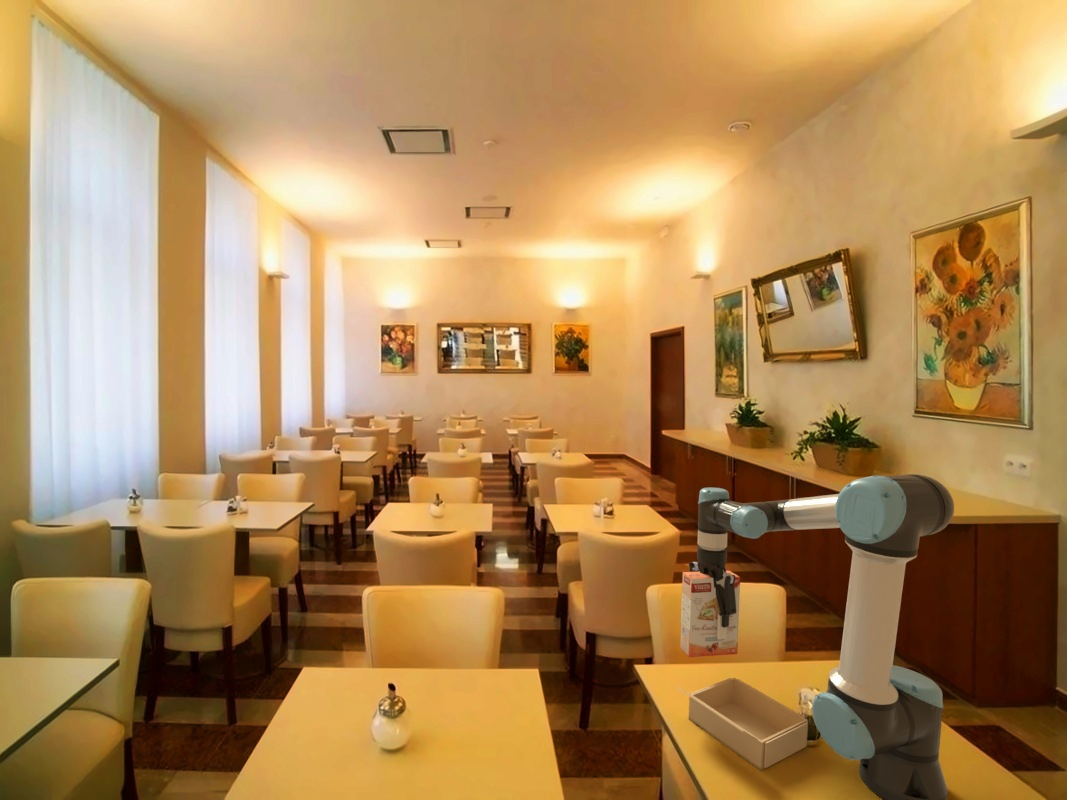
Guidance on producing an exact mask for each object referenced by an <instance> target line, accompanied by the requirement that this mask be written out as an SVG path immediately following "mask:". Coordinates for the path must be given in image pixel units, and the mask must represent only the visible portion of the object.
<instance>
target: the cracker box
mask: <svg viewBox="0 0 1067 800" xmlns="http://www.w3.org/2000/svg"><path fill="white" fill-rule="evenodd" d="M726 573H728V574H730V575H735V577H736V578H735V583H734V588H735V600H736V614H732V615H729V626H728V627H727V638H724V639H721V640H719V639H717V626H718V614H719V613H721V612H720V609H719V605H718V601H717V597H716V588H714V581H713V578H712V577H710V576H709V575H708V574H706V573H705V574H702V573H700V571H699V572H690V571H682V583H681V584H682V585H681V610H680V611H681V614H680V643H679V645H680V646H679V647H680V649H681V651H682V652H683V653H685V655H686V656H687V657H688V658H696V657H698V658H699V657H714V656H728V655H738V648H739V647H738V646H739V621H740V620H739V619H740V593H741V577H740V576H739V575H738V574H736V573H734V572H732V570H726ZM715 579H716V578H715ZM723 580H724V577H723V579H722V580H720V581H716V583H717V584H721V586H722V587H723V588H724V581H723Z"/></svg>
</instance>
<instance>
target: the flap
mask: <svg viewBox="0 0 1067 800" xmlns="http://www.w3.org/2000/svg"><path fill="white" fill-rule="evenodd" d="M676 689H677V690H679V691H681V692H682V693H684V694H685V695H687V696H688V697H689V698H690V697H691V698H693V699H694V700H696V701H697V702H699V703H700V704H702V705H703V706H705V707H706V708H708V709H709V710H711V711H712V712H714V713H715V714H717V715H718V716H720V717H721V718H723V719H724V720H726V721H727V722H729V723H730V724H732V725H733V726H735V727H736V728H738V729H739V730H741V731H742V732H744V733H745V734H747V735H749V736H750V737H752V738H754V739H755V740H757V741H758V739H757V738H755V737H754V736H752V735H751V734H749V733H748V732H746V731H745V730H743V729H742V728H740V727H739V726H737V725H736V724H734V723H733V722H731V721H730V720H728V719H727V718H725V717H724V716H722V715H720V714H719V713H717V712H716V711H714V710H713V709H711V708H710V707H708V706H707V705H705V704H704V703H702V702H701V701H699V700H698V699H696V698H695V697H693V696H692V695H690V693H689V692H687V691H686V690H683V689H682V688H680V687H679V686H676Z"/></svg>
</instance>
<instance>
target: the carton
mask: <svg viewBox="0 0 1067 800" xmlns="http://www.w3.org/2000/svg"><path fill="white" fill-rule="evenodd" d="M689 694H690V695H692V696H693V697H695V698H696V699H698V700H699V701H701V702H702V703H704V704H705V705H707V706H708V707H710V708H711V709H713V710H714V711H716V712H717V713H719V714H720V715H722V716H724V717H725V718H727V719H728V720H730V721H731V722H733V723H734V724H736V725H737V726H739V727H740V728H742V729H743V730H745V731H746V732H748V733H749V734H751V735H752V736H754V737H755V738H757V739H758V741H757V740H755V739H754V738H752V737H750V736H749V735H747V734H745V733H744V732H742V731H741V730H739V729H738V728H736V727H735V726H733V725H732V724H730V723H729V722H727V721H726V720H724V719H723V718H721V717H720V716H718V715H717V714H715V713H714V712H712V711H711V710H709V709H708V708H706V707H705V706H703V705H702V704H700V703H699V702H697V701H696V700H694V699H693V698H691V697H690V696H689V702H688V703H689V705H688V720H689V721H691V722H692V723H693V724H695V725H696V726H698V728H700V729H702V730H703V731H705V732H706V733H707V734H708V735H710V736H712V737H713V738H715V740H717V741H718V742H720V743H722V744H723V745H724V746H726V748H728V749H730V750H731V751H733V753H735V754H737V755H738V756H739V757H741V758H742V759H744V760H745V761H746V762H748V763H749V764H751V765H752V766H754V767H755V768H756V769H757V770H759V771H762V770H764V769H766V768H769V767H771V766H772V765H774V764H777V763H778V762H781V760H784V759H786V758H787V757H789V756H791V755H793V754H796V753H797V752H799V751H801V750H803V749H805V748H806V747H807V746H808V728H809V727H808V726H809V723H808V722H809V720H808V719H807V718H806V717H805V716H803V715H802V716H803V717H802V716H800V715H801V714H800V713H798V712H797V711H794V710H793V709H791V708H789V707H787V706H786V705H784V704H782V703H781V702H779V701H777V700H775V699H773V698H772V697H770V696H769V695H767V694H765V693H763V692H761V690H760V691H759V690H758V689H757V688H754V687H753V686H752V685H749V684H748V683H746V682H744V681H743V680H741V679H738V678H736V677H733V678H731V677H729V678H727V679H724V680H721V681H718V682H715V683H713V684H711V685H708V686H705V687H703V688H701V689H697V690H695V691H692V692H690V693H689ZM804 717H805V718H806V719H805V718H804Z"/></svg>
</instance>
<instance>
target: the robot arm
mask: <svg viewBox="0 0 1067 800" xmlns="http://www.w3.org/2000/svg"><path fill="white" fill-rule="evenodd" d="M729 493H730V492H729V491H728V490H727V489H724V488H721V487H703V488H701V489H700V490H699V495H698V502H697V504H698V513H697V514H698V516H697V521H698V522H697V527H698V528H697V542H696V543H697V545H698V546H697V551H696V559H697V560H698V561H697V560H696V561H692V562H688V568H689V572H700V573H702V574H705V573H706V574H708V575H709V576H710V577H712V578H713V581H714V588H716V597H717V601H718V605H719V609H720V612H721V613H719V614H718V626H717V639H719V640H721V639H724V638H727V627H728V626H729V615H732V614H736V600H735V588H734V583H735V578H736V577H735V575H730V574H728V573H726V571H727V570H726V563H727V562H728V560H727V559H728V550H727V547H728V532H731V533H733V534H737V535H738V536H739V537H743V538H748V539H759V538H760V537H762V535H764V534H765V533H769V532H779V531H780V532H783V531H797V530H798V531H799V530H800V531H801V530H817V529H818V530H819V529H822V530H823V529H838V528H839V529H840V530H841V531H842V533H843V534H844V535H845V537H844V542H845V544H847V546H848V547H849V548H850V550H851V551H852V556H851V562H850V563H851V564H850V573H849V581H848V589H847V595H846V596H847V597H846V598H847V599H846V606H845V613H844V623H843V631H842V639H841V647H840V648H841V649H840V654H839V655H840V656H839V663H838V664H839V665H838V666H836V667H834V668H831V669H830V671H829V673H828V681H827V689H826V691H822V692H820V693H818V694H817V695H816V696H815V697H814V699H813V700H812V703H811V713H812V719H813V722H814V725H815V726H816V729H817V730H818V731H819V733H820V736H821V737H822V739H823V740H824V742H825V743H826V744H827V746H829V747H830V749H832V750H833V751H834V752H835V753H836V754H837V755H839V756H841V757H842V758H845V759H847V760H851V761H858V760H859V762H858V763H859V764H858V765H859V766H858V774H859V776H860V778H861V780H862V782H863V784H865V785H866V786H867V788H869V789H870V791H872V792H873V793H875V794H876V795H878V796H879V797H880V798H881V799H884V800H948V794H949V793H948V787H947V783H946V780H945V776H944V773H943V770H942V766H941V763H940V760H939V759H940V745H941V734H942V733H941V732H942V721H943V720H942V719H943V708H944V703H943V700H944V699H943V698H944V697H943V691H942V689H941V688H940V686H939V685H938V684H937V682H935V681H934V680H932V679H931V678H930V677H927V676H926V675H924V674H921V673H919V672H918V671H917V672H916V671H914V670H912V669H909V668H906V667H903V666H899V665H894V655H895V651H896V650H895V649H896V642H897V633H898V626H899V618H900V611H901V603H902V596H903V595H902V593H903V587H904V581H905V580H904V579H905V574H906V566H907V565H906V564H907V563H908V562H910V561H912V560H914V559H916V558H917V556H918V550H919V544H920V537H926V536H931V535H934V534H937V533H939V532H941V531H942V530H944V529H945V528H946V527H947V526H948V525H950V522H951V521H952V519H953V517H954V513H955V504H954V499H953V496H952V495H951V493H950V491H949V490H948V489H947V487H945V485H944V484H943V483H941V482H939V481H938V480H936V479H935V478H932V477H931V476H927V475H924V474H919V473H918V474H917V473H916V474H914V473H912V474H902V475H901V474H899V475H897V474H896V475H871V476H866V477H862V478H857V479H854V480H851V481H850V482H849V483H846V485H845V486H844V487H843V488H842V489H841V491H840V492H839V493H836V494H835V493H834V494H827V495H817V496H809V497H798V498H792V499H790V498H789V499H779V500H771V501H758V502H757V501H756V502H755V501H754V502H746V503H745V502H744V503H743V502H737V501H733V500H730V495H729ZM723 577H724V580H723V581H724V588H723V587H722V586H721V584H717V583H716V581H720V580H722V579H723ZM715 578H716V579H715Z"/></svg>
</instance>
